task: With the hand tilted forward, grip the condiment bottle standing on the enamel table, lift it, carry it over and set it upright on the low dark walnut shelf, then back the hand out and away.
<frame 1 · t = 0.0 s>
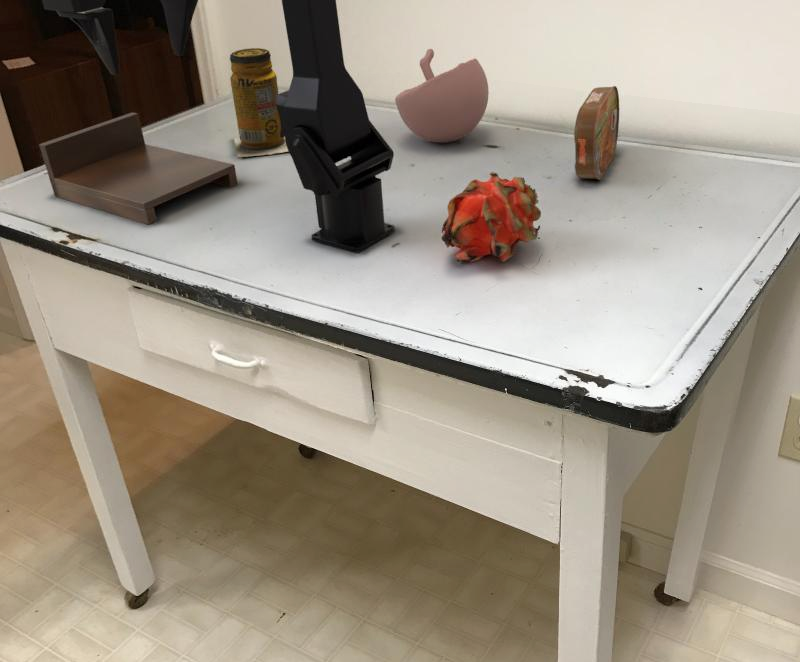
hand: (148, 64, 97), 15 cm above the table, tool pointing down, fingers open, 9 cm apart
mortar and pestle: (443, 141, 114), on the table
tin: (594, 168, 103), on the table
dragon fruit: (489, 257, 84), on the table
condiment: (262, 147, 117), on the table
shelf: (146, 190, 105), on the table
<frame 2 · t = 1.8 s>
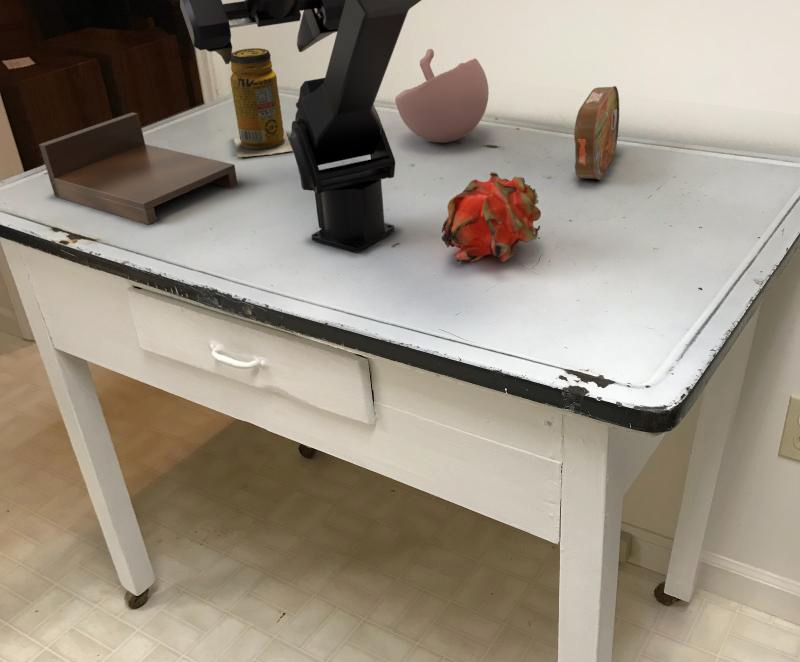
hand: (263, 54, 103), 13 cm above the table, tool tilted 45°, fingers open, 9 cm apart
nothing on the table moved.
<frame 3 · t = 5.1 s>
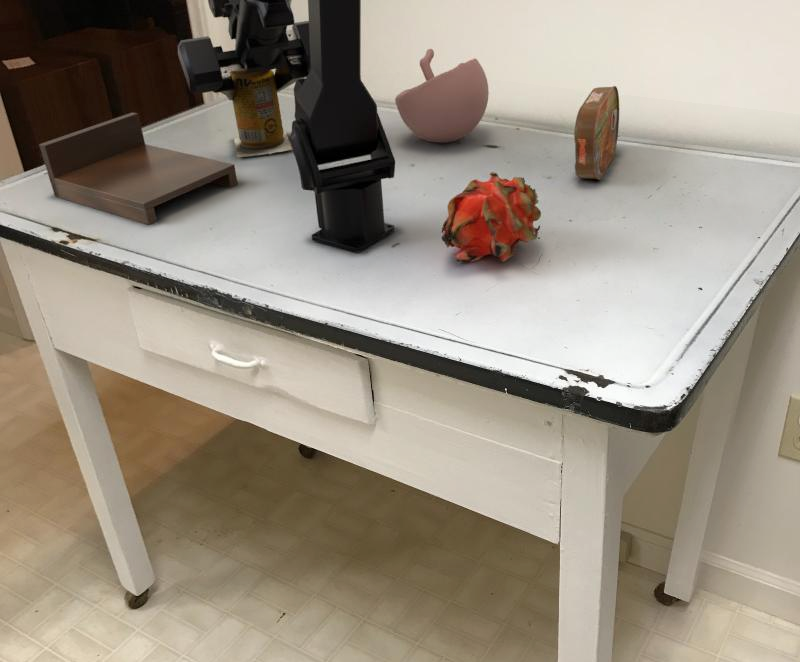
hand: (253, 93, 114), 7 cm above the table, tool tilted 45°, fingers closed on condiment, 6 cm apart
condiment: (262, 146, 117), on the table, touching gripper
everything else where it was.
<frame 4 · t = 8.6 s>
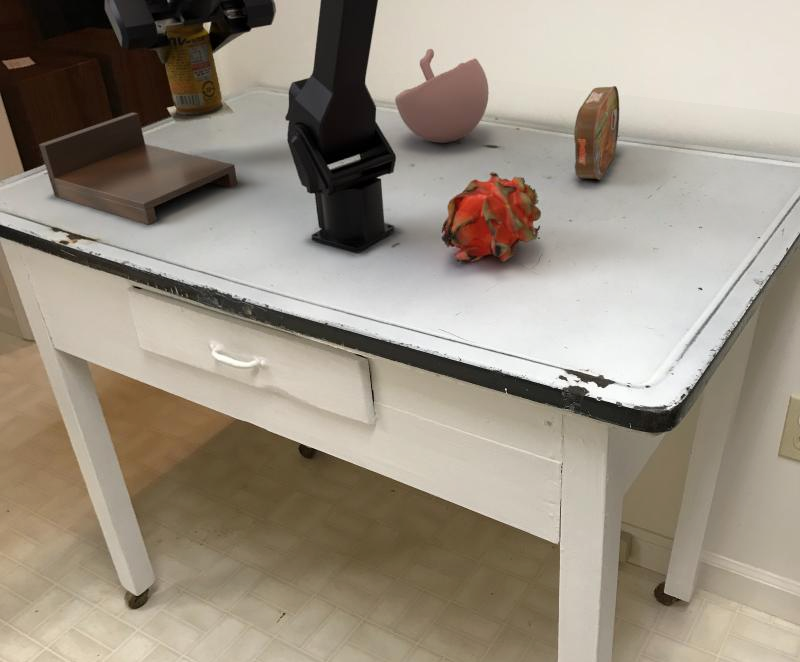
hand: (186, 55, 106), 13 cm above the table, tool tilted 45°, fingers closed on condiment, 6 cm apart
condiment: (200, 113, 109), point 6 cm above the table, touching gripper
everything else where it was.
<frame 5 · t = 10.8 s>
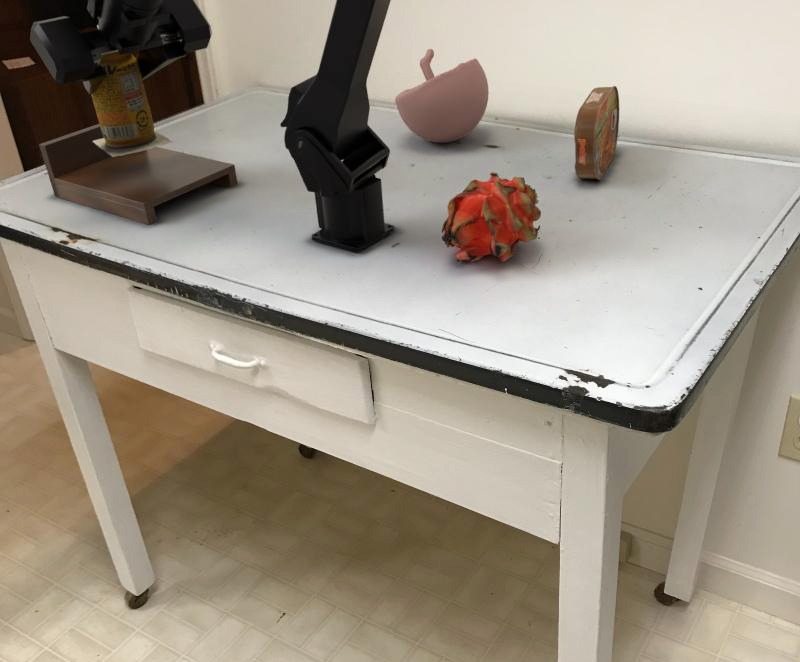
hand: (113, 84, 99), 12 cm above the table, tool tilted 45°, fingers closed on condiment, 6 cm apart
condiment: (133, 144, 102), point 6 cm above the table, touching gripper
everything else where it was.
when the fingers open (9 cm above the table, at t = 12.5 s): condiment stays where it is, resting on shelf.
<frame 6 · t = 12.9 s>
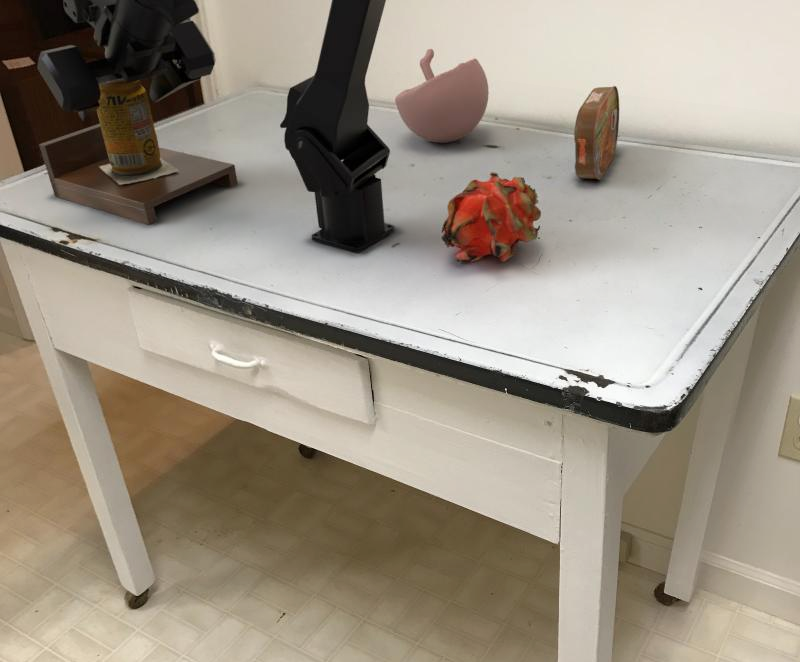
hand: (118, 108, 101), 10 cm above the table, tool tilted 45°, fingers open, 9 cm apart
condiment: (139, 172, 104), point 2 cm above the table, touching shelf
everything else where it was.
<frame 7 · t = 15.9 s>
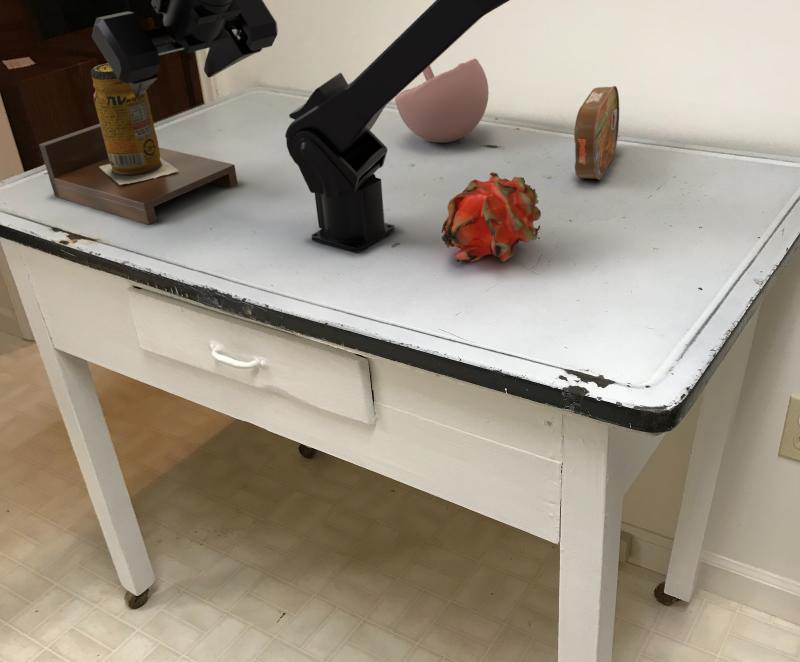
hand: (171, 83, 94), 13 cm above the table, tool tilted 45°, fingers open, 9 cm apart
nothing on the table moved.
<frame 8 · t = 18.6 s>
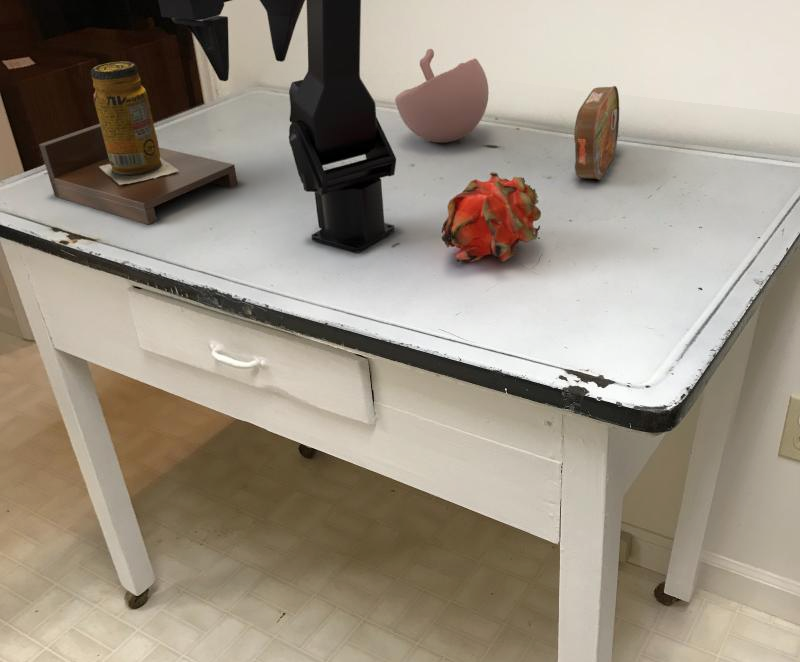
hand: (253, 70, 98), 13 cm above the table, tool pointing down, fingers open, 9 cm apart
nothing on the table moved.
at the end: condiment inside the target area on the shelf (0.1 cm from its centre), point 2.3 cm above the shelf's base; condiment tilted 0°; the gripper is holding nothing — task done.
